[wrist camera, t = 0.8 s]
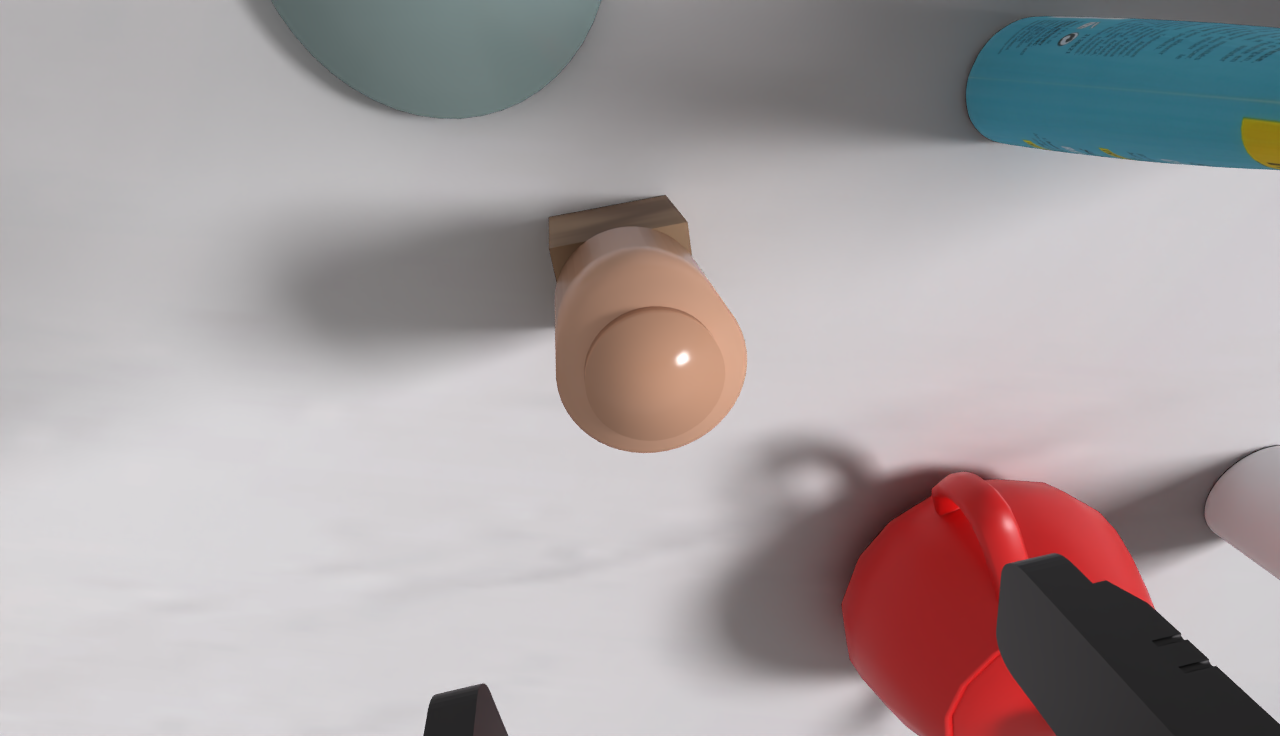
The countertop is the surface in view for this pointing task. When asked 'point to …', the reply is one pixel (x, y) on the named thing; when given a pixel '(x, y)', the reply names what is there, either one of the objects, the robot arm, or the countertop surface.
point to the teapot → (965, 599)
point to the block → (613, 225)
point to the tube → (1132, 90)
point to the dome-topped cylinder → (644, 343)
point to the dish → (442, 48)
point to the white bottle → (1250, 508)
